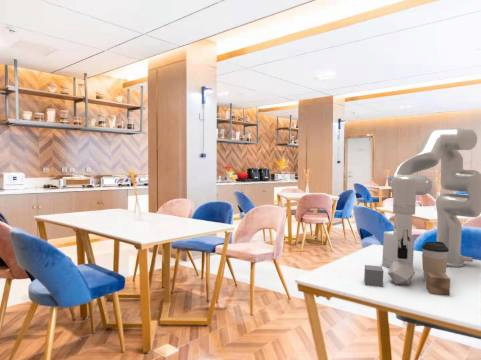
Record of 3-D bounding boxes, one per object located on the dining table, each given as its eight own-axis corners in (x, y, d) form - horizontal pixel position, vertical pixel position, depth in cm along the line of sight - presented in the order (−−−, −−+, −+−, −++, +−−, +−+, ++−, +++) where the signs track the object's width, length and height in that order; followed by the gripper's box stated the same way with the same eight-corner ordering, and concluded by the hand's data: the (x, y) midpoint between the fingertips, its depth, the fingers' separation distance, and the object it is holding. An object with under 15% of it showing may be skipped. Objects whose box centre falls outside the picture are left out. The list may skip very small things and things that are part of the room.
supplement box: (398, 271, 149) (399, 235, 148) (381, 265, 157) (382, 231, 156) (413, 268, 153) (415, 234, 152) (396, 263, 161) (398, 230, 160)
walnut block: (444, 290, 128) (445, 273, 127) (449, 296, 122) (450, 278, 122) (425, 288, 129) (426, 271, 129) (429, 294, 124) (430, 277, 123)
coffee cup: (437, 287, 131) (439, 246, 130) (415, 279, 139) (416, 241, 138) (452, 283, 135) (454, 244, 134) (430, 276, 143) (431, 239, 142)
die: (411, 290, 128) (422, 267, 131) (389, 277, 130) (400, 254, 132) (401, 290, 136) (411, 268, 139) (380, 278, 137) (391, 256, 140)
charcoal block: (381, 282, 135) (381, 266, 135) (382, 287, 130) (383, 271, 129) (364, 280, 137) (364, 264, 137) (365, 285, 131) (365, 269, 131)
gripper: (390, 206, 141) (388, 252, 142) (396, 212, 127) (394, 263, 128) (411, 207, 139) (409, 253, 140) (419, 213, 125) (417, 264, 126)
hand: (402, 258), depth 134 cm, fingers closed
